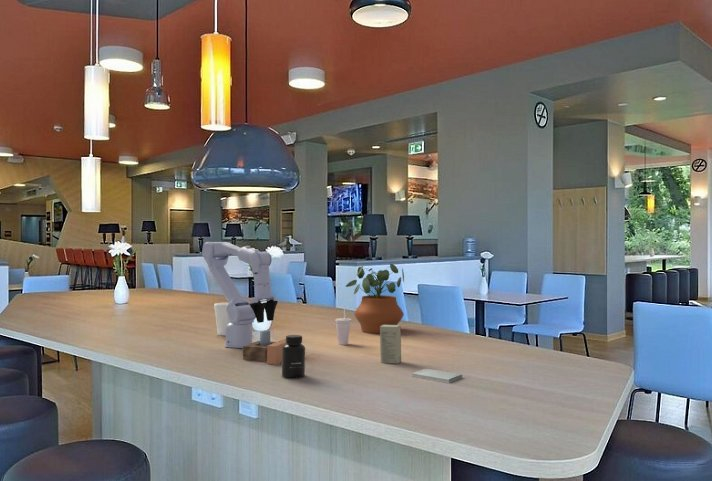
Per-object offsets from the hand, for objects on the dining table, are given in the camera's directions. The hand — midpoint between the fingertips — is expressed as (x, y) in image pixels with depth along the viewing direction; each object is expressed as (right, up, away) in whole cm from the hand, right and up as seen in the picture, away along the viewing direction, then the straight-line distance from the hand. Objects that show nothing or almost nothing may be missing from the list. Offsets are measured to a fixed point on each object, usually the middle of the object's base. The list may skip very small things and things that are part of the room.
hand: (265, 321), depth 208 cm
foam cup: (-23, -11, +35) cm, 43 cm away
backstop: (+8, -11, -15) cm, 20 cm away
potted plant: (+41, -11, +48) cm, 64 cm away
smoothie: (+28, -11, +14) cm, 33 cm away
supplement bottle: (+14, -11, -39) cm, 43 cm away
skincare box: (+45, -11, -18) cm, 50 cm away
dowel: (+2, -10, -12) cm, 16 cm away
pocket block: (+2, -11, -12) cm, 16 cm away
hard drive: (+57, -12, -39) cm, 70 cm away
